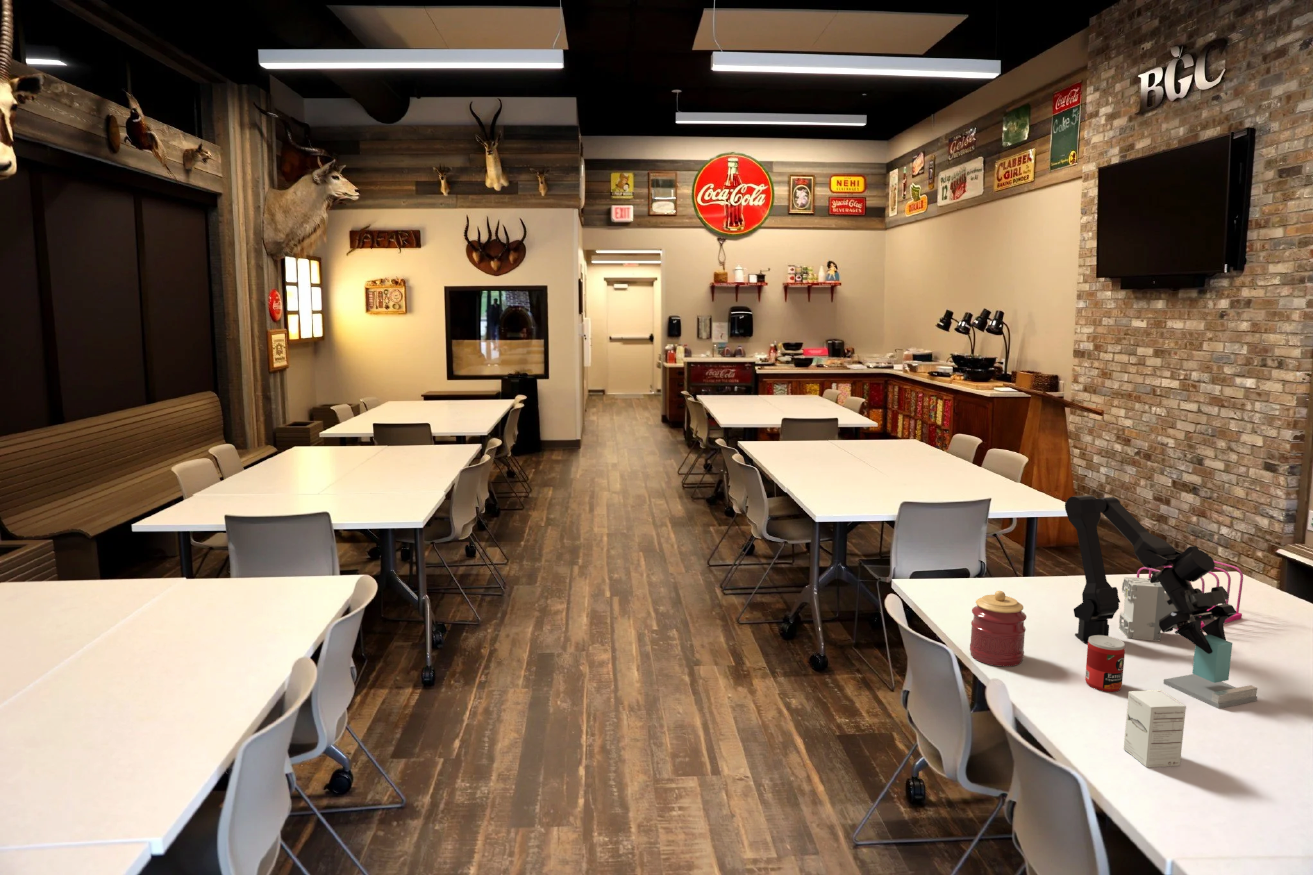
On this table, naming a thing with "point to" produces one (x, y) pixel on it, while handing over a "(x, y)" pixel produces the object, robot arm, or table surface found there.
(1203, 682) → the plate
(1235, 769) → the table surface
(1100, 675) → the canned food
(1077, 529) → the robot arm
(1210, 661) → the block
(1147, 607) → the circuit breaker
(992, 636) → the canister
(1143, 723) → the supplement box
